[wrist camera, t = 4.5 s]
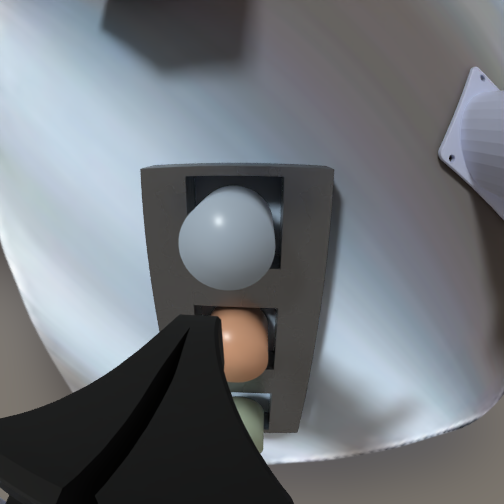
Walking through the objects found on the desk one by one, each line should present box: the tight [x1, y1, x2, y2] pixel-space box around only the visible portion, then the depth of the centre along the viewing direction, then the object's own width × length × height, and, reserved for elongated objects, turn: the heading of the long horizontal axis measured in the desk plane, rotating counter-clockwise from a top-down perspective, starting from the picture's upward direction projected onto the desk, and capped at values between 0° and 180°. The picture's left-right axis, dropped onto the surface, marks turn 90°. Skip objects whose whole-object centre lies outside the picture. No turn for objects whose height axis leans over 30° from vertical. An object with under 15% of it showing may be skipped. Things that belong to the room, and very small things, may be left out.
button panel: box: [140, 163, 334, 433], centre depth 19 cm, size 21×10×2 cm, turn 179°
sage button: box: [233, 396, 264, 453], centre depth 19 cm, size 4×4×4 cm
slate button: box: [179, 185, 275, 290], centre depth 14 cm, size 4×4×4 cm
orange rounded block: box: [210, 306, 268, 383], centre depth 18 cm, size 4×4×4 cm
